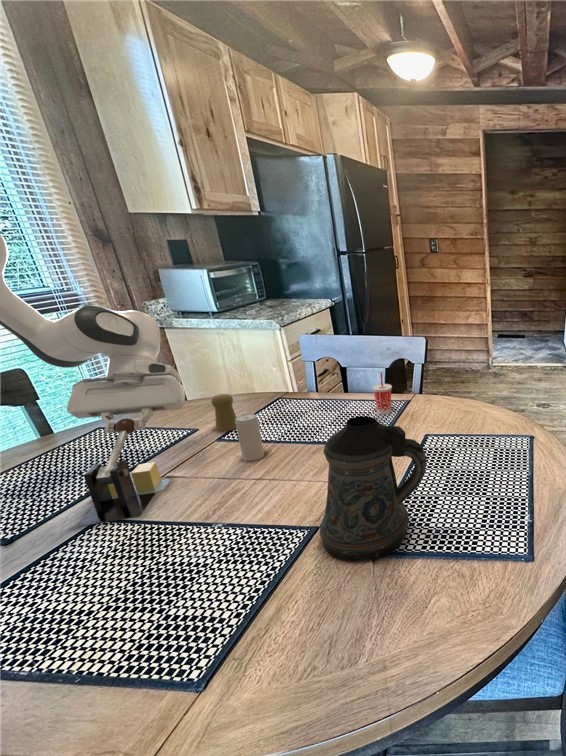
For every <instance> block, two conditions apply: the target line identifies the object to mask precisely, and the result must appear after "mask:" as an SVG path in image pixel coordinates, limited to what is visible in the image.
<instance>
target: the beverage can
mask: <svg viewBox="0 0 566 756" xmlns="http://www.w3.org/2000/svg"><path fill="white" fill-rule="evenodd" d="M236 417H237V418H236V419H235V420H236V421H235V423H236V431H237V437H238V442H239V447H240V452H241V457H242V460H244V461H246V462H247V461H248V462H249V461H259V460H261V459H262V458H263V457H264V456H265V452H264V445H263V441H262V435H261V429H260V424H259V423H260V422H259V418H258V416H257V414H255V413H245V414H241V415H238V416H236Z"/></svg>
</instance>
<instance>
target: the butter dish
mask: <svg viewBox="0 0 566 756" xmlns="http://www.w3.org/2000/svg"><path fill="white" fill-rule="evenodd" d="M170 481H171V478H165V479H161V482H160V484H159V485H158V486H157V488H156V489H155V490H152V491H146V492H139V493H137V490H136V487H135V484H134V483H133V485H134V489H135V492H136V495H142V494H148V493H155V492H161V491H164V489H165V488H166V487H167V485H168V483H170ZM112 498H113V499H116V498H118V496H112Z"/></svg>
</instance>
